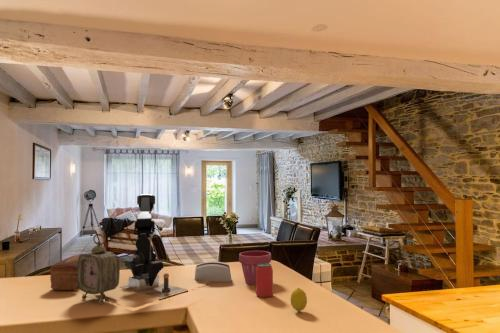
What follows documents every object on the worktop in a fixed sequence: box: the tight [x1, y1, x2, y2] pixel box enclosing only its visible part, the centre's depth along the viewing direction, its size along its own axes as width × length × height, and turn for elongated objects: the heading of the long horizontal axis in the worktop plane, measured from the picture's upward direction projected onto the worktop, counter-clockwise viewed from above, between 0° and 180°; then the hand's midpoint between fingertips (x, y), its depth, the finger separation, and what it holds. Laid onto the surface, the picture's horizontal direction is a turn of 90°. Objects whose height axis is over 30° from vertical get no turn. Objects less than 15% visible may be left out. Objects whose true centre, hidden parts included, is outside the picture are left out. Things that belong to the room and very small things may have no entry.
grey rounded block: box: [194, 261, 232, 283], centre depth 169 cm, size 17×5×10 cm, turn 90°
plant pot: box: [238, 250, 272, 286], centre depth 167 cm, size 14×14×13 cm
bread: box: [49, 253, 82, 291], centre depth 167 cm, size 14×28×12 cm, turn 176°
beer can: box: [255, 263, 274, 299], centre depth 146 cm, size 7×7×12 cm
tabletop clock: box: [77, 233, 121, 305], centre depth 143 cm, size 14×9×25 cm, turn 56°
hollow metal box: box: [128, 273, 160, 290], centre depth 158 cm, size 7×10×4 cm
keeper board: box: [119, 272, 189, 301], centre depth 154 cm, size 26×14×8 cm, turn 54°
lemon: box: [290, 287, 308, 313], centre depth 127 cm, size 6×6×8 cm
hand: (143, 284), depth 158 cm, fingers open, 9 cm apart
